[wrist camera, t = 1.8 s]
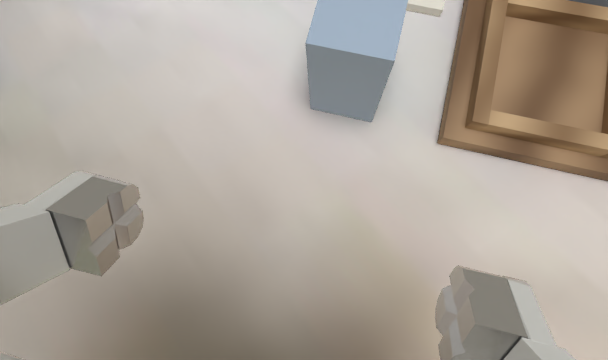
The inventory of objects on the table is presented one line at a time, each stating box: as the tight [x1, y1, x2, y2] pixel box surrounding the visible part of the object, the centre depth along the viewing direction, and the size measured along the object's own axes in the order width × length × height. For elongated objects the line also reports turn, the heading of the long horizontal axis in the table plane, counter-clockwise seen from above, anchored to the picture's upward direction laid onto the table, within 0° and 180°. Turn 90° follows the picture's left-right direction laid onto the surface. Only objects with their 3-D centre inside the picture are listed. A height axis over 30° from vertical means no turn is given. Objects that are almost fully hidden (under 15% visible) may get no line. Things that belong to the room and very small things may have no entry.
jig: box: [437, 0, 608, 181], centre depth 24 cm, size 12×16×2 cm
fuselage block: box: [306, 0, 408, 122], centre depth 22 cm, size 4×5×8 cm
